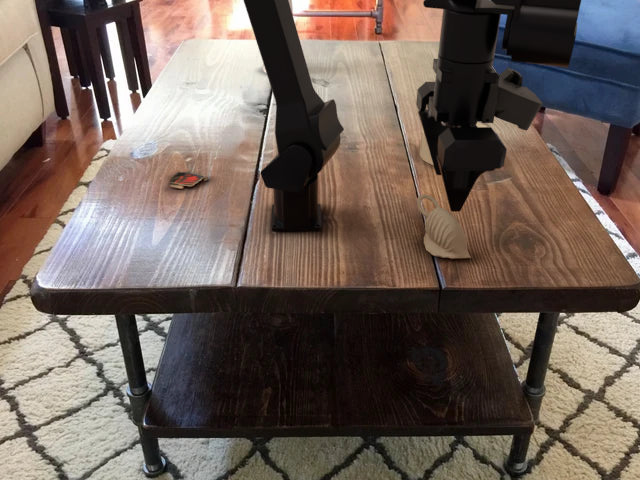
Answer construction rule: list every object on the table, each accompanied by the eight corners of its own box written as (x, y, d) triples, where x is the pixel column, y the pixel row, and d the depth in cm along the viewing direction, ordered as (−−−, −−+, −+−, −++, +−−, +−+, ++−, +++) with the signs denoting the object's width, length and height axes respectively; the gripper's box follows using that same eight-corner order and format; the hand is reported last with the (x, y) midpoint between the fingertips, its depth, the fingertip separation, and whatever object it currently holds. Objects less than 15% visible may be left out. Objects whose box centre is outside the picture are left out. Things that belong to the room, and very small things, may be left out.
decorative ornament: (442, 266, 76) (448, 227, 73) (408, 232, 82) (412, 195, 79) (471, 259, 78) (478, 220, 74) (436, 226, 84) (441, 189, 80)
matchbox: (176, 173, 95) (175, 170, 95) (209, 176, 94) (209, 173, 94) (164, 187, 91) (164, 184, 91) (199, 190, 91) (198, 187, 90)
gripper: (574, 85, 59) (538, 231, 68) (517, 32, 74) (495, 158, 83) (454, 85, 59) (435, 233, 68) (422, 31, 74) (410, 158, 83)
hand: (447, 191), depth 76 cm, fingers open, 9 cm apart
